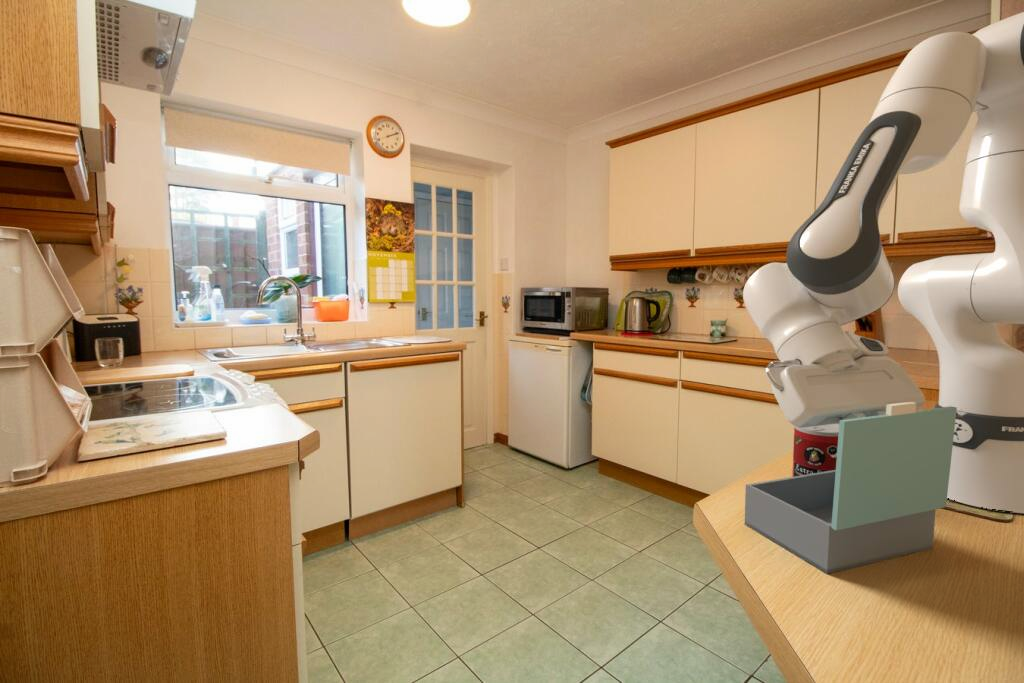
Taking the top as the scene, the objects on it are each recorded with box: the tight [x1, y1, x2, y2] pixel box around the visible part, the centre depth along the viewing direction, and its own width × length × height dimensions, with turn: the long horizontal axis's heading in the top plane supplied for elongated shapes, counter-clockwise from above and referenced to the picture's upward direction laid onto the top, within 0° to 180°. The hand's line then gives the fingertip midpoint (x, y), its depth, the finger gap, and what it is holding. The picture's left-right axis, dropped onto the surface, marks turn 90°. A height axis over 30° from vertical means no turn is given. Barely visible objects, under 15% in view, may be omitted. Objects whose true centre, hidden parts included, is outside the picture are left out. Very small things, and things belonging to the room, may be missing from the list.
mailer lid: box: [831, 402, 957, 530], centre depth 57 cm, size 18×14×1 cm
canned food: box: [792, 424, 839, 477], centre depth 80 cm, size 8×8×11 cm
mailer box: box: [744, 470, 937, 575], centre depth 65 cm, size 18×13×6 cm
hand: (888, 449), depth 58 cm, fingers closed, pressing on mailer lid
